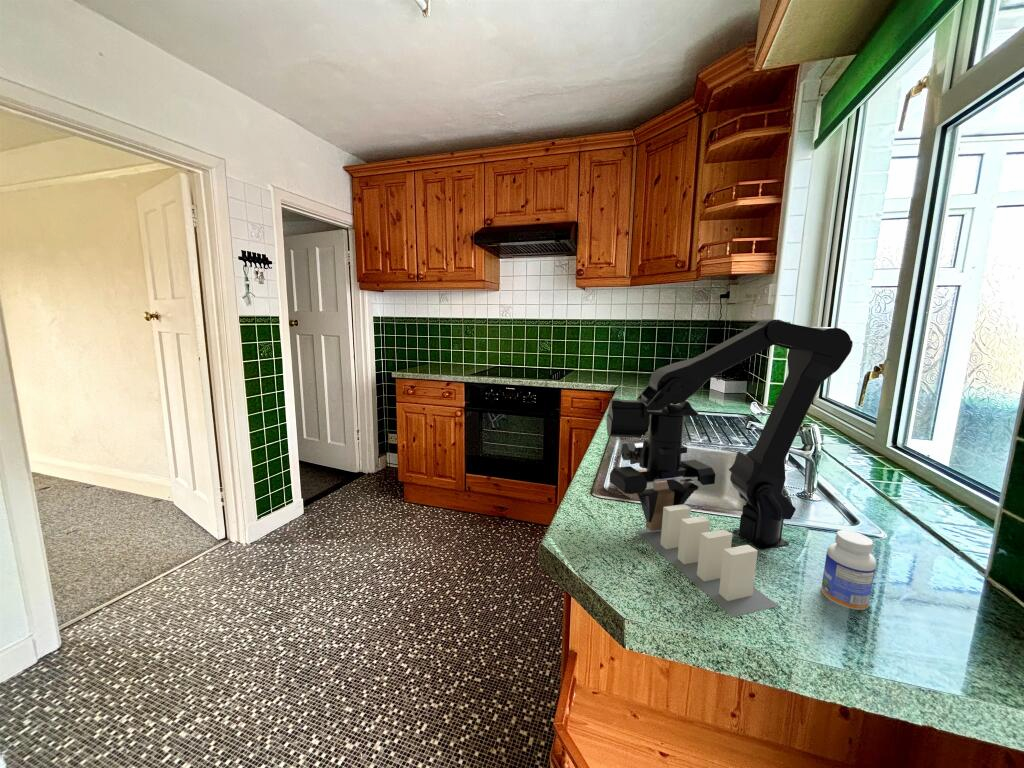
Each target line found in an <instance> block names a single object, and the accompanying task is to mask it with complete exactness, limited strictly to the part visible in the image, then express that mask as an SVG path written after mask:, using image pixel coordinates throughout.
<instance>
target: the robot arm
mask: <svg viewBox="0 0 1024 768" xmlns="http://www.w3.org/2000/svg"><path fill="white" fill-rule="evenodd" d="M853 345H854V344H853V339H851V336H850V335H849V333H848V332H847V331H846V330H845V329H842V328H840V327H833V326H832V327H830V326H829V327H828V326H809V327H808V326H805V325H799V324H793V323H790V322H786V321H784V320H782V319H762V320H759V321H757V322H756V323H755V324H754V325H752V326H751V327H749V328H747V329H745V330H743V331H741V332H740V333H738V334H735V335H734V336H731V337H730V338H728V339H726V340H725V341H723V342H721V343H719V344H717V345H715V346H713V347H712V348H710V349H708V350H706V351H705V352H703V353H700V354H699V355H697V356H695V357H692V358H688V359H685V360H681V361H677V362H673V363H671V364H668V365H665V366H663V367H659V368H657V369H656V370H654V371H653V372H652V373H651V375H650V379H649V383H648V385H647V386H645V388H644V389H643V391H641V393H640V394H639V395H638V397H637V398H636V400H635V399H634V400H633V399H621V398H620V399H619V398H610V399H609V406H608V411H607V413H606V433H607V437H610V438H612V437H613V438H634V439H635V438H637V439H639V438H640V439H641V438H643V436H646V434H647V433H648V439H644V441H643V443H642V446H639V447H636V445H635V443H634V442H630V443H629V442H627V443H622V445H621V449H620V450H621V459H622V460H623V461H629V462H630V465H629V466H619V467H613V468H612V469H611V471H610V472H609V483H610V484H612V485H613V486H614V487H615V488H616V487H617V488H618V489H620V490H621V491H622V492H624V493H626V494H635V493H637V495H638V497H639V502H640V505H641V508H642V512H643V515H644V518H645V521H646V520H647V521H648V522H651V521H652V518H653V515H654V510H655V506H656V502H657V497H658V492H657V491H655V490H654V489H653V487H654V482H656V481H665V480H666V481H667V484H668V487H669V489H670V490H672V491H673V492H674V505H682V504H685V503H686V502H687V500H688V499H690V497H691V495H693V494H694V492H695V491H698V490H699V485H697V484H695V483H694V484H693V482H694V478H696V479H697V482H698V483H699V484H700V485H701V486H707V485H715V484H716V472H715V470H714V468H713V467H711V466H710V465H707V464H705V463H703V462H701V461H699V460H697V459H689V460H688V459H687V460H682V455H683V454H688V447H687V446H684V445H683V444H684V443H683V442H684V430H685V418H686V417H697V416H698V415H699V412H698V411H697V410H695V409H694V408H693V406H692V405H691V403H690V402H689V401H688V399H689V398H691V397H692V396H694V395H695V394H696V393H697V392H699V391H700V390H701V388H702V387H704V385H705V384H706V383H707V382H708V381H709V380H710V379H712V378H713V377H715V376H718V375H719V374H721V373H723V372H725V371H726V370H728V369H731V368H733V367H735V366H736V365H737V364H739V363H742V362H743V361H745V360H747V359H750V358H751V357H753V356H755V355H757V354H759V353H761V352H762V351H764V350H766V349H769V348H770V347H773V346H775V347H776V346H777V347H779V348H783V349H787V350H788V351H787V352H788V353H787V357H786V359H787V371H788V372H787V376H786V378H785V380H784V383H783V385H782V387H781V389H780V392H779V394H778V395H777V399H776V401H775V403H774V405H773V407H772V409H771V411H770V412H769V415H768V418H767V419H766V422H765V424H764V427H763V429H762V431H761V433H760V435H759V437H758V440H757V441H756V444H755V446H754V447H753V448H752V449H751V450H749V451H748V452H747V453H746V454H745V453H743V452H741V451H738V452H737V453H736V456H735V460H734V462H733V464H732V466H731V467H730V468H728V471H729V472H730V476H729V477H730V479H729V480H730V482H731V485H732V486H733V488H734V489H735V490H736V491H737V492H738V495H739V497H740V499H742V500H743V501H745V505H744V504H743V505H742V514H741V515H740V519H739V520H740V521H739V528H738V529H737V528H736V529H733V530H732V532H733V534H735V535H737V536H739V537H740V538H742V539H743V540H745V541H746V542H747V543H750V544H751V545H753V546H754V547H756V548H758V549H759V550H762V551H764V550H769V549H775V548H782V547H786V546H789V545H790V543H789V542H788V541H787V540H785V539H783V538H782V537H783V536H782V535H783V528H784V520H791V519H792V518H793V517H794V514H795V512H796V510H797V509H796V507H795V506H794V505H793V504H792V503H791V502H790V501H789V500H788V499H787V498H786V497H785V495H784V494H782V493H783V491H784V487H785V482H786V478H787V477H786V465H785V460H786V458H787V456H788V454H789V451H790V450H791V447H792V446H793V443H794V441H795V439H796V437H797V435H798V433H799V430H800V428H801V426H802V424H803V423H804V421H805V418H806V416H807V414H808V411H809V410H810V409H811V408H810V407H811V406H812V404H813V402H814V399H815V397H816V395H817V393H818V390H819V388H820V386H821V385H822V384H823V382H825V381H826V380H827V379H828V378H830V377H831V376H832V375H834V374H835V373H837V372H838V370H839V369H840V368H841V366H842V365H843V363H844V362H845V361H846V360H847V358H848V356H849V355H850V354H851V352H852V348H853ZM635 464H639V467H640V468H642V469H645V470H647V471H645V472H639V471H637V470H638V469H636V468H634V467H632V466H631V465H635ZM617 488H616V489H617ZM618 489H617V490H618ZM622 492H621V493H622ZM674 505H673V506H674Z"/></svg>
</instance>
